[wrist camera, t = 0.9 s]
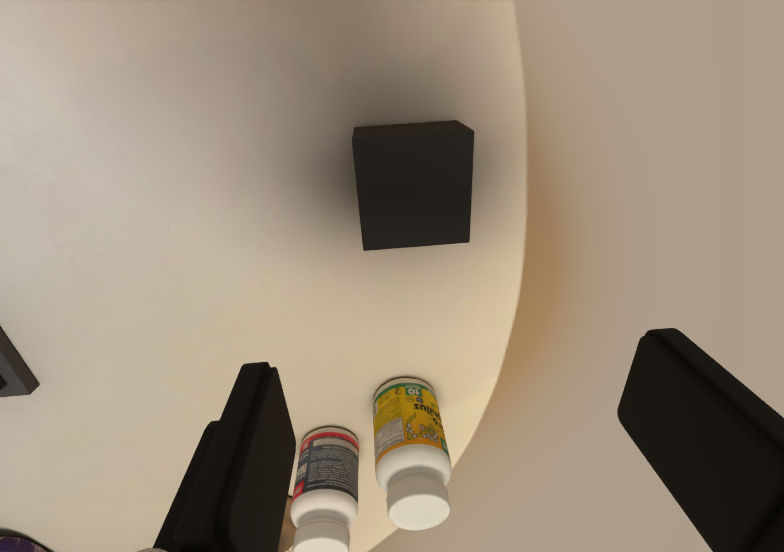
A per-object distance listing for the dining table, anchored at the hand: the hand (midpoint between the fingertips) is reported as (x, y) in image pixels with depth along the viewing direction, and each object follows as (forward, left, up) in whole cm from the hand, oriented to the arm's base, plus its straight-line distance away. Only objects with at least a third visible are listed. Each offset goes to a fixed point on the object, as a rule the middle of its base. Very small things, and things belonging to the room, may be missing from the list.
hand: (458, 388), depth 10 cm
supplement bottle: (+18, -1, -17) cm, 24 cm away
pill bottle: (+23, -8, -17) cm, 29 cm away
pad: (-1, 0, -16) cm, 16 cm away
